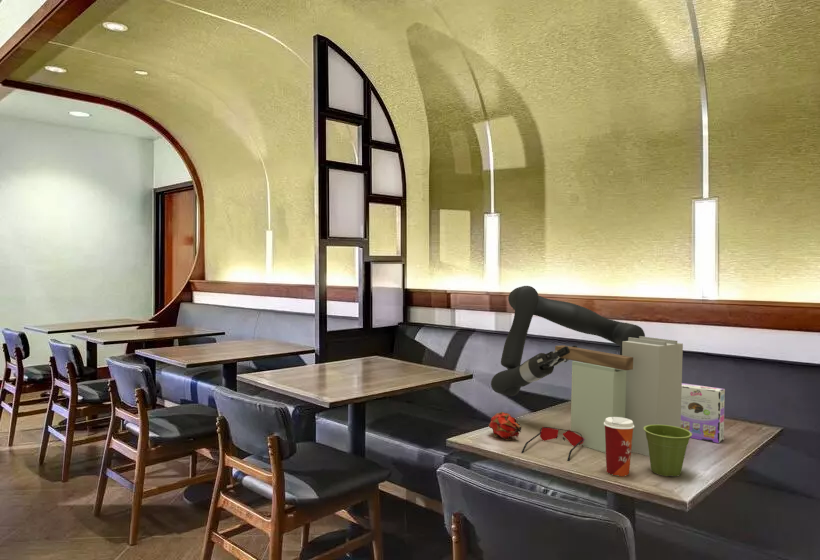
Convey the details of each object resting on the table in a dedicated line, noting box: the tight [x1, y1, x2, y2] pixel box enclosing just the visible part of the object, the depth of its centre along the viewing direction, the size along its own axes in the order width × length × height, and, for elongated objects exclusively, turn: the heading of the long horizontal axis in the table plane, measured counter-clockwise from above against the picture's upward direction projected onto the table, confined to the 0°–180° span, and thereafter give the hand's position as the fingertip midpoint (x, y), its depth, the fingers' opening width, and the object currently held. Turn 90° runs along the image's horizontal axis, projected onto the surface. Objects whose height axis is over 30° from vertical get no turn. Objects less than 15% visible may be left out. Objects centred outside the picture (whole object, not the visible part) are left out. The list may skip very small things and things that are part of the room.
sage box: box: [570, 360, 626, 454], centre depth 178 cm, size 6×15×25 cm, turn 35°
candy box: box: [681, 382, 726, 444], centre depth 189 cm, size 14×6×16 cm, turn 47°
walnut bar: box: [554, 344, 633, 370], centre depth 179 cm, size 4×26×4 cm, turn 35°
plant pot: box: [643, 424, 692, 477], centre depth 156 cm, size 12×12×11 cm
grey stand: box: [622, 336, 684, 458], centre depth 175 cm, size 12×12×33 cm
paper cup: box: [604, 417, 634, 477], centre depth 156 cm, size 8×8×14 cm
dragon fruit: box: [488, 411, 522, 441], centre depth 186 cm, size 8×8×12 cm
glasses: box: [521, 426, 584, 462], centre depth 174 cm, size 14×16×5 cm
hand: (572, 348), depth 186 cm, fingers closed on walnut bar, 3 cm apart
